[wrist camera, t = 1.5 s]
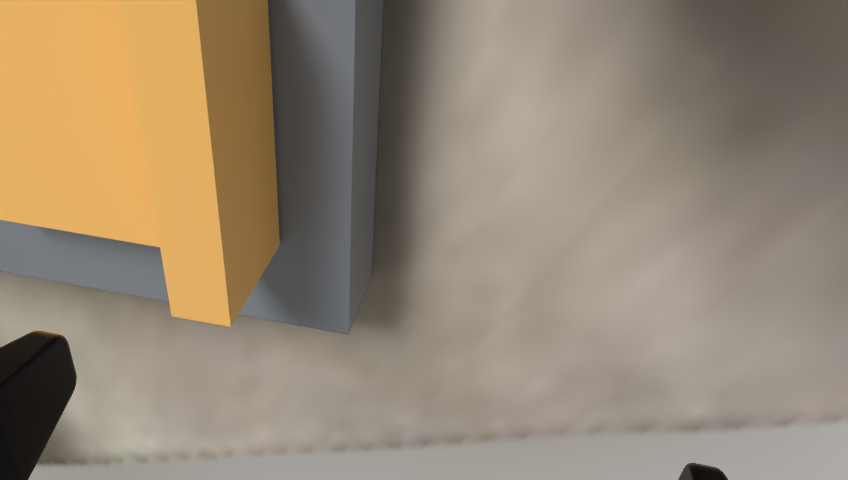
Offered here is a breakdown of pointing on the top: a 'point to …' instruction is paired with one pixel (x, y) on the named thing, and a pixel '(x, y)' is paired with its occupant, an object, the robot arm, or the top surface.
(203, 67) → the orange block
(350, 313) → the socket plate
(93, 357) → the top surface
